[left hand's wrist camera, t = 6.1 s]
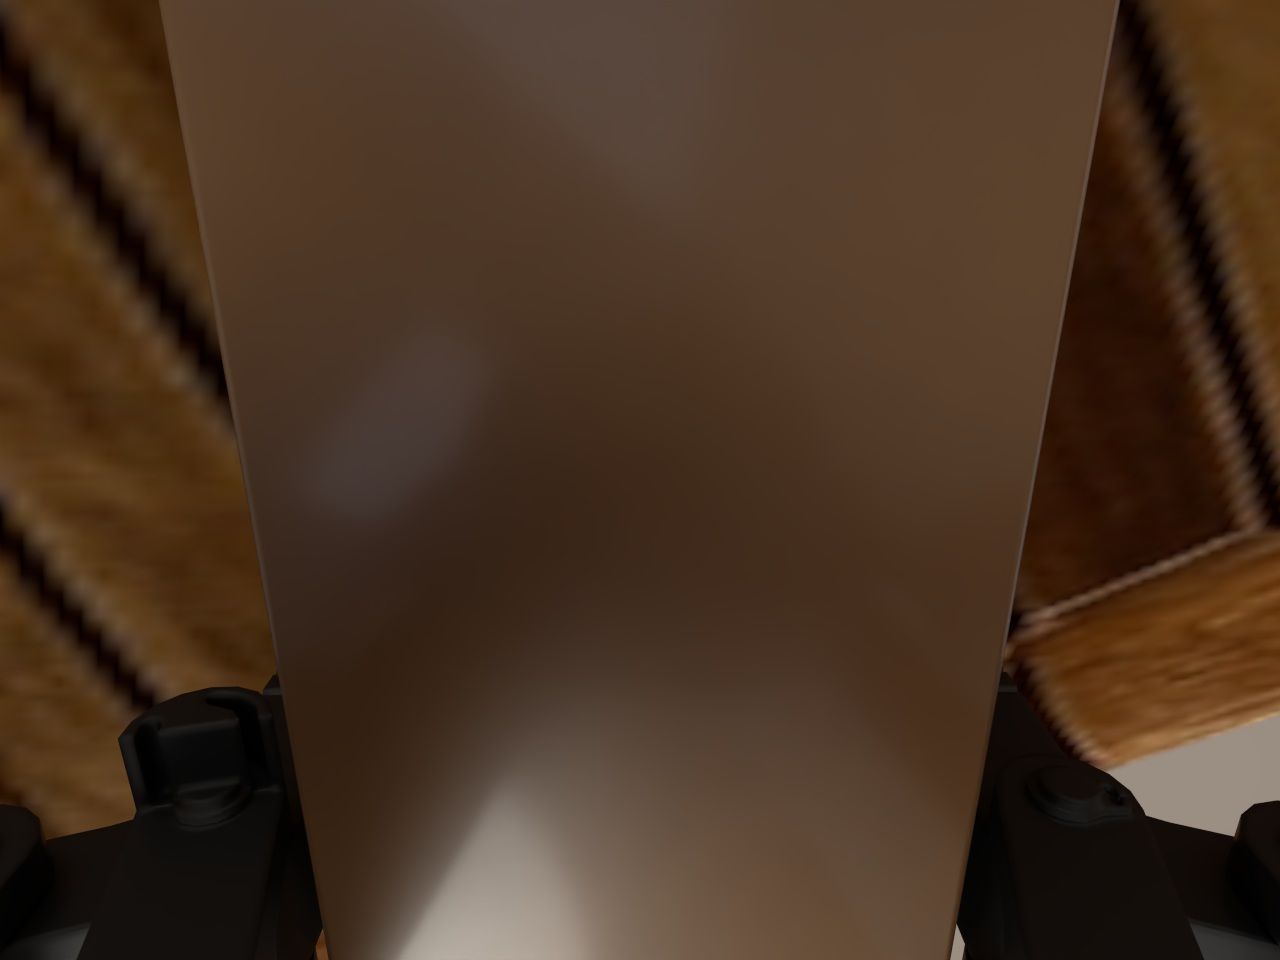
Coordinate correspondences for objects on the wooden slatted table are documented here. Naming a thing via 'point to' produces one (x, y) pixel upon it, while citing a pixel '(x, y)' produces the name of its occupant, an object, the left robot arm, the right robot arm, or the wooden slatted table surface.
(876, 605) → the bar
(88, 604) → the wooden slatted table surface
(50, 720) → the wooden slatted table surface
